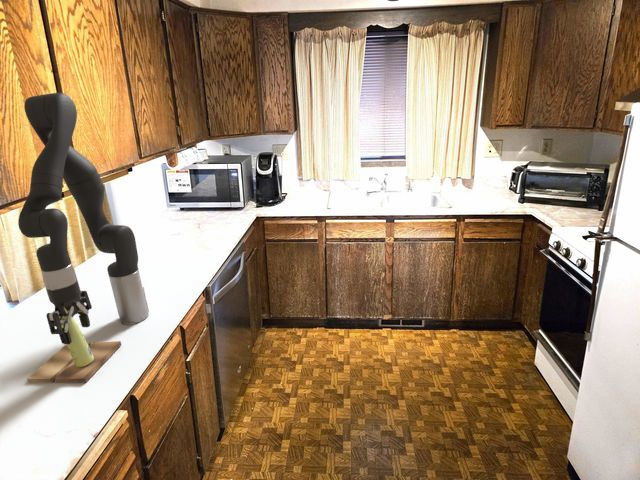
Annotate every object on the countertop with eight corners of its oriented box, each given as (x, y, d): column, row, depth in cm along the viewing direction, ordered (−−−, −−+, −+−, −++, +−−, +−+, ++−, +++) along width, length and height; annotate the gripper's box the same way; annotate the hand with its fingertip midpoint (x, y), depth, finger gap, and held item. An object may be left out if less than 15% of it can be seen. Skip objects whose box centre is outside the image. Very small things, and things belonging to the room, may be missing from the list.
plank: (94, 345, 137) (93, 342, 137) (121, 344, 136) (120, 341, 136) (55, 382, 120) (54, 378, 120) (86, 382, 119) (85, 378, 119)
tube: (70, 369, 124) (43, 309, 117) (79, 358, 129) (54, 299, 122) (89, 366, 124) (63, 306, 116) (98, 355, 128) (73, 296, 121)
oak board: (69, 345, 138) (68, 342, 138) (92, 345, 137) (91, 342, 137) (28, 382, 121) (26, 378, 121) (53, 382, 120) (52, 378, 120)
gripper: (65, 271, 125) (80, 321, 130) (29, 294, 111) (47, 349, 117) (90, 270, 124) (104, 321, 129) (56, 294, 110) (73, 349, 116)
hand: (77, 334), depth 123 cm, fingers open, 8 cm apart
